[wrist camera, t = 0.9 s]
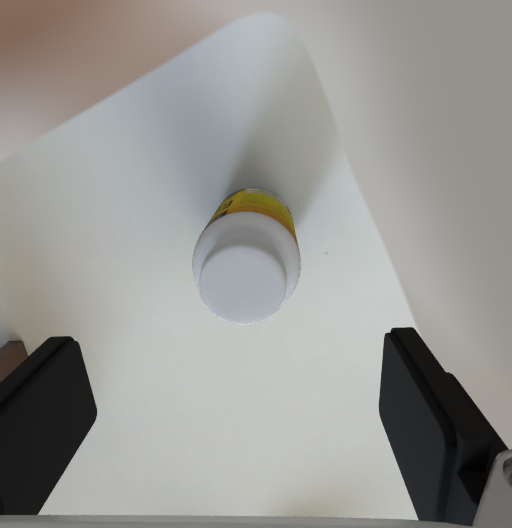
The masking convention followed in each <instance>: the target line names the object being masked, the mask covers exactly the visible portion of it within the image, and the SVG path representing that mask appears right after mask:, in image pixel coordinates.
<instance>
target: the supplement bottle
mask: <svg viewBox="0 0 512 528" xmlns="http://www.w3.org/2000/svg"><path fill="white" fill-rule="evenodd" d="M192 266H193V273H194V277H195V280H196V282H197V285H198V287H199V291H200V295H201V298H202V300H203V302H204V303H205V305H206V306H207V308H208V309H209V310H210V311H211V312H212V313H213V314H214V315H216V316H217V317H219V318H220V319H222V320H224V321H227V322H230V323H233V324H239V325H248V324H255V323H258V322H261V321H263V320H265V319H267V318H269V317H270V316H272V315H273V314H274V313H275V312H276V311H277V310H278V309H279V307H280V306H281V304H282V303H283V302H284V301H285V300H286V299H287V298H288V297H289V296H290V295H291V293H292V292H293V290H294V289H295V287H296V285H297V282H298V279H299V276H300V270H301V260H300V253H299V248H298V243H297V239H296V234H295V229H294V225H293V220H292V216H291V213H290V211H289V209H288V207H287V206H286V204H285V203H284V202H283V201H282V200H281V199H280V198H279V197H278V196H276V195H275V194H273V193H272V192H269V191H267V190H264V189H259V188H248V189H243V190H239V191H237V192H235V193H233V194H231V195H230V196H229V197H227V198H226V199H225V200H224V201H223V202H222V204H221V205H220V206H219V208H218V209H217V211H216V212H215V214H214V216H213V217H212V219H211V220H210V222H209V223H208V225H207V226H206V228H205V229H204V231H203V232H202V234H201V235H200V237H199V239H198V241H197V243H196V246H195V249H194V253H193V260H192Z"/></svg>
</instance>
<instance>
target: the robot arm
mask: <svg viewBox="0 0 512 528" xmlns="http://www.w3.org/2000/svg"><path fill="white" fill-rule="evenodd" d="M379 413H380V418H381V421H382V423H383V426H384V429H385V431H386V434H387V437H388V439H389V442H390V445H391V447H392V450H393V453H394V455H395V458H396V461H397V463H398V466H399V469H400V471H401V474H402V477H403V479H404V482H405V485H406V487H407V490H408V493H409V495H410V498H411V501H412V503H413V506H414V509H415V511H416V514H417V517H418V519H419V521H418V520H403V519H371V518H339V517H267V516H164V515H38V513H39V512H40V510H41V508H42V507H43V505H44V503H45V502H46V500H47V499H48V497H49V495H50V494H51V492H52V490H53V489H54V487H55V486H56V484H57V482H58V481H59V479H60V477H61V476H62V474H63V473H64V471H65V469H66V468H67V466H68V464H69V463H70V461H71V459H72V458H73V456H74V455H75V453H76V451H77V450H78V448H79V446H80V445H81V443H82V442H83V440H84V438H85V437H86V435H87V433H88V432H89V430H90V429H91V427H92V425H93V424H94V422H95V420H96V416H97V408H96V404H95V400H94V397H93V393H92V389H91V386H90V382H89V378H88V375H87V371H86V367H85V364H84V360H83V356H82V353H81V349H80V345H79V343H78V342H77V341H74V339H73V338H72V337H70V336H62V337H50V338H48V339H47V340H46V341H45V342H44V343H43V344H42V345H41V346H39V347H38V348H37V349H36V350H35V351H34V352H33V353H32V354H31V355H30V356H29V357H27V358H26V359H25V360H24V361H23V362H22V363H21V364H20V365H19V366H18V367H17V368H16V369H14V370H13V371H12V372H11V373H10V374H9V375H8V376H7V377H6V378H5V379H4V380H2V381H1V382H0V528H512V449H511V450H509V449H508V448H507V446H506V445H505V444H504V442H503V441H502V440H501V438H500V437H499V436H498V434H497V433H496V431H495V430H494V429H493V427H492V426H491V425H490V423H489V422H488V421H487V420H486V418H485V417H484V415H483V414H482V413H481V411H480V410H479V409H478V407H477V406H476V404H475V403H474V402H473V400H472V399H471V398H470V396H469V395H468V394H467V392H466V391H465V390H464V388H463V387H462V386H461V384H460V383H459V382H458V380H457V379H456V378H455V377H454V375H453V374H451V373H449V372H448V373H446V372H445V371H444V369H443V368H442V366H441V365H440V364H439V362H438V361H437V360H436V358H435V357H434V355H433V354H432V353H431V351H430V350H429V348H428V347H427V346H426V344H425V343H424V341H423V340H422V339H421V337H420V336H419V334H418V333H417V332H416V330H415V329H414V328H412V327H406V328H392V329H391V333H386V334H385V337H384V348H383V360H382V373H381V385H380V398H379Z"/></svg>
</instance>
